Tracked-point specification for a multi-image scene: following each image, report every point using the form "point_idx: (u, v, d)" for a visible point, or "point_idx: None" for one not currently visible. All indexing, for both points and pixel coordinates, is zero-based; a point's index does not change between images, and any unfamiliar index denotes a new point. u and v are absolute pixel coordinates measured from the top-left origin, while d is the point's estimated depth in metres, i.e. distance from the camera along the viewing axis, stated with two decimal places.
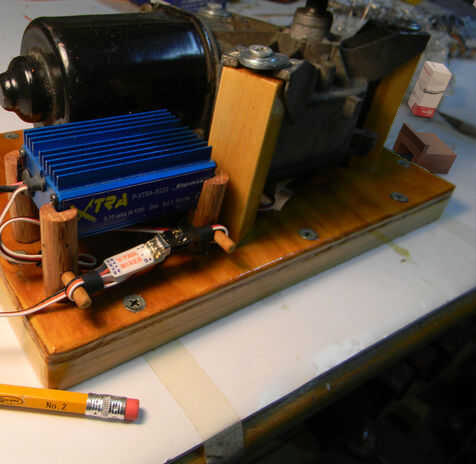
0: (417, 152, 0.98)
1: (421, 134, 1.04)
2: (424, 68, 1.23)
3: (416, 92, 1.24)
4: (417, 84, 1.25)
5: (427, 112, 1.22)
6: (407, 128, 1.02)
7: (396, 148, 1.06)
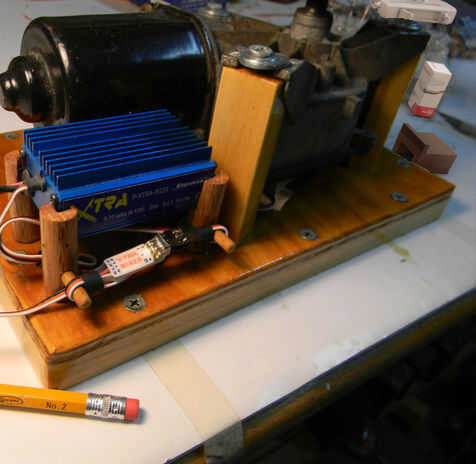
0: (417, 152, 0.98)
1: (421, 134, 1.04)
2: (424, 68, 1.23)
3: (416, 92, 1.24)
4: (417, 84, 1.25)
5: (427, 112, 1.22)
6: (407, 128, 1.02)
7: (396, 148, 1.06)
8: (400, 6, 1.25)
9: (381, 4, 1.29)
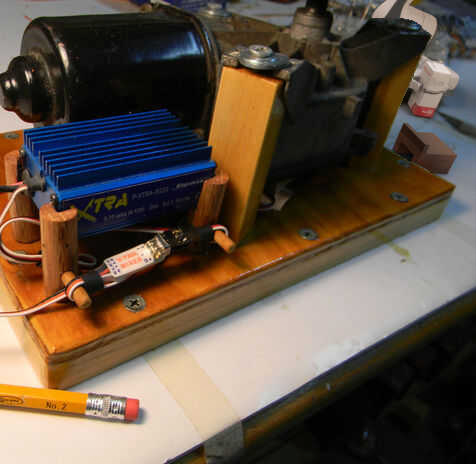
0: (417, 152, 0.98)
1: (421, 134, 1.04)
2: (424, 68, 1.23)
3: (416, 92, 1.24)
4: None
5: (427, 112, 1.22)
6: (407, 128, 1.02)
7: (396, 148, 1.06)
8: None
9: None
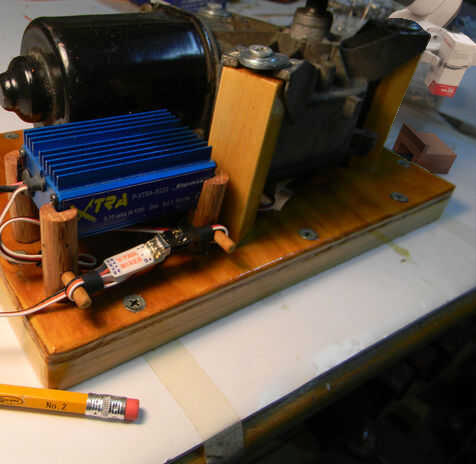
0: (417, 152, 0.98)
1: (421, 134, 1.04)
2: (444, 40, 1.06)
3: (435, 68, 1.08)
4: None
5: (447, 90, 1.06)
6: (407, 128, 1.02)
7: (396, 148, 1.06)
8: None
9: None
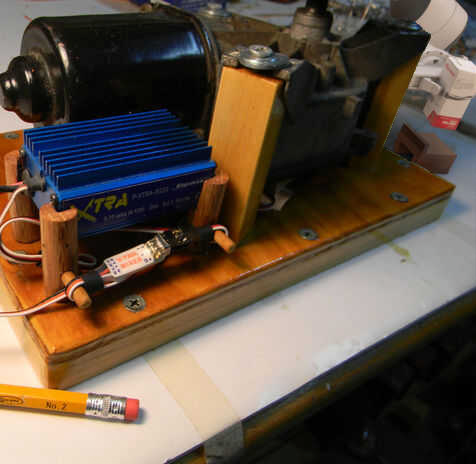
0: (417, 152, 0.98)
1: (421, 134, 1.04)
2: (446, 66, 0.95)
3: (435, 97, 0.97)
4: None
5: (449, 123, 0.95)
6: (407, 128, 1.02)
7: (396, 148, 1.06)
8: (417, 74, 0.96)
9: None
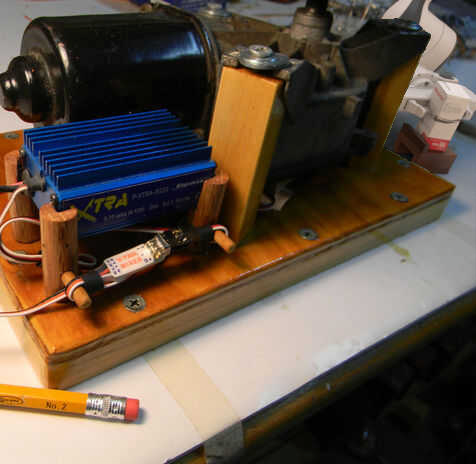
0: (417, 152, 0.98)
1: None
2: (435, 89, 0.97)
3: (425, 120, 0.99)
4: None
5: (439, 145, 0.97)
6: (407, 128, 1.02)
7: (396, 148, 1.06)
8: (408, 96, 0.99)
9: None
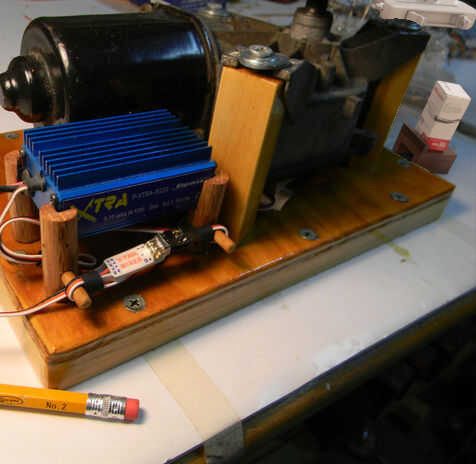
0: (417, 152, 0.98)
1: None
2: (435, 89, 0.97)
3: (425, 120, 0.99)
4: (426, 109, 1.00)
5: (439, 145, 0.97)
6: (407, 128, 1.02)
7: (396, 148, 1.06)
8: (408, 7, 1.01)
9: (384, 5, 1.05)
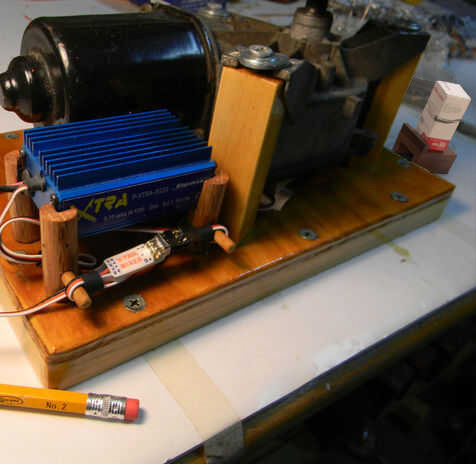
0: (417, 152, 0.98)
1: None
2: (435, 89, 0.97)
3: (425, 120, 0.99)
4: (426, 109, 1.00)
5: (439, 145, 0.97)
6: (407, 128, 1.02)
7: (396, 148, 1.06)
8: None
9: None
